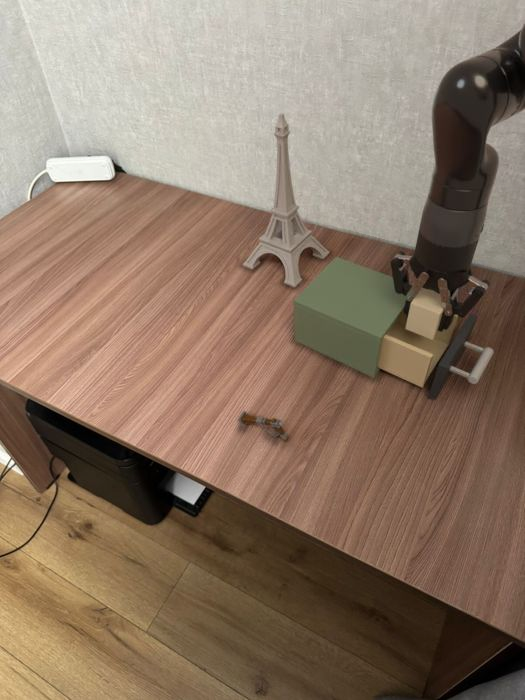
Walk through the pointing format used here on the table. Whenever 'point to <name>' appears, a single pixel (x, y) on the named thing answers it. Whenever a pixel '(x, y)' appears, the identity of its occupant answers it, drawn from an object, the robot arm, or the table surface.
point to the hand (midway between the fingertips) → (426, 321)
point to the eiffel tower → (285, 219)
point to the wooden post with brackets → (264, 424)
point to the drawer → (430, 354)
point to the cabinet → (347, 314)
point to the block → (425, 314)
